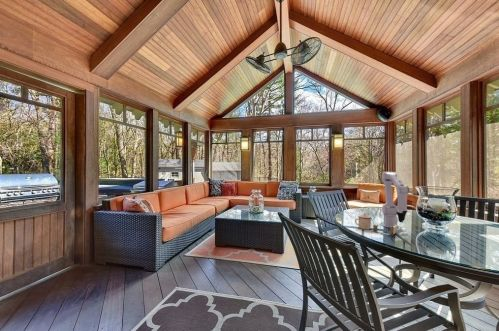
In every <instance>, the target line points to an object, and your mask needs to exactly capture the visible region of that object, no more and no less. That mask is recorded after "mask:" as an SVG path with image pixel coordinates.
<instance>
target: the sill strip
mask: <svg viewBox="0 0 499 331" xmlns="http://www.w3.org/2000/svg"><path fill="white" fill-rule="evenodd" d="M376 233H380V234H383V235H385V236H387V235H388V236H390V233H385V232H382V231H379V230H377V232H376Z"/></svg>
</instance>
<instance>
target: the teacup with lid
mask: <svg viewBox="0 0 499 331" xmlns="http://www.w3.org/2000/svg"><path fill="white" fill-rule="evenodd" d="M357 220H358V223H357ZM371 222H372V216H370V215H368V214H367V213H366V212H363V213H362V214H359V215H358V218H355V220H354V223H355V224H356V225H357V226H358V228H359V229H362V230H371V229H372V228H371V227H372V223H371Z"/></svg>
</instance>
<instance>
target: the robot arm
mask: <svg viewBox="0 0 499 331" xmlns="http://www.w3.org/2000/svg"><path fill="white" fill-rule="evenodd" d="M381 182H382V183H383V184H384V195H385V203H384V204H383V205H382V209H381V211H382V215H384V224H381V226H383V227H386V228H389V229H390V227H391V226H394V225H398V222H399V223H404V221H405V219H406V215H407V213H408V194H409V193H410V187H409V185H405V184H404V183H403V181H402V180H400V179H399V178H398V173H397V171H382V173H381ZM392 184H393V186H394V188H396V189H395V192H396V196H397V205H396V204H395V203H394V201H393V200H394V199H393V188H392ZM398 227H399V225H398V226H397V228H398Z"/></svg>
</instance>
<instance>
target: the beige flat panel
mask: <svg viewBox="0 0 499 331" xmlns="http://www.w3.org/2000/svg"><path fill="white" fill-rule="evenodd" d="M397 226H398V227H399V225H398V224H397V225H394V226H393V227H394V232H393V235H394V234H396V233H397V232H398V227H397Z"/></svg>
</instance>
